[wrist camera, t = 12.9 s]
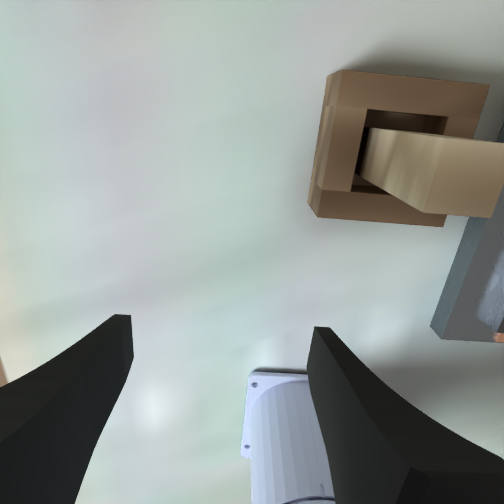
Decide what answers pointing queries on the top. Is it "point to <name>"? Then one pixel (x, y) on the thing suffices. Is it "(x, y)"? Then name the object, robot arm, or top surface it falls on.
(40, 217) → the top surface
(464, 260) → the panel
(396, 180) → the wooden block
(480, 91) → the wooden square socket
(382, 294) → the top surface
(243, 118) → the top surface
